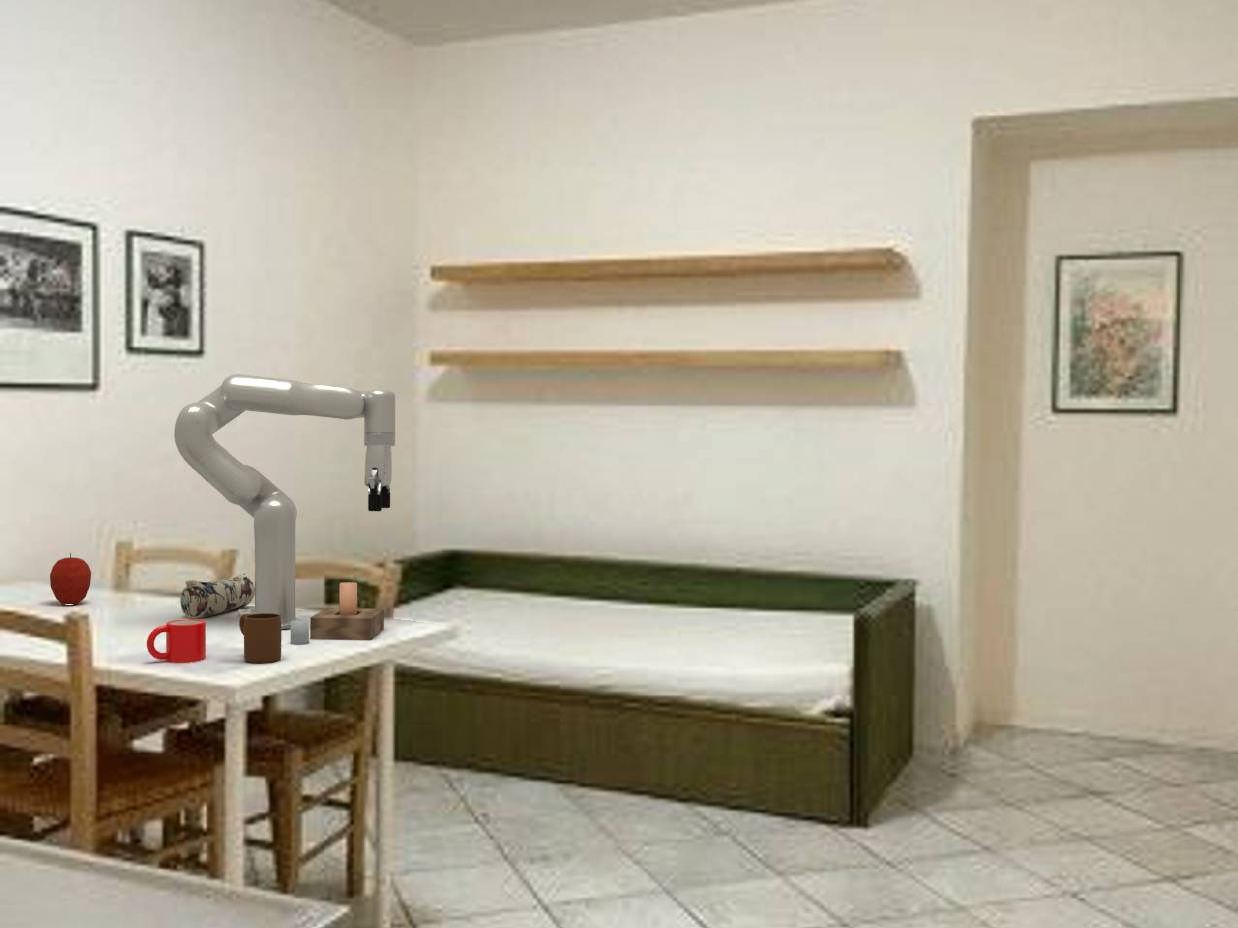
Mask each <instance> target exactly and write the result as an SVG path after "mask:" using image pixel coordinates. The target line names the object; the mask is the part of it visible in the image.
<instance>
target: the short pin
mask: <svg viewBox="0 0 1238 928" xmlns="http://www.w3.org/2000/svg"><path fill="white" fill-rule="evenodd" d="M308 644H310V620H308V619H301V620H293V621H291V628H290V645H294V646H304V645H308Z"/></svg>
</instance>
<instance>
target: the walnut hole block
mask: <svg viewBox="0 0 1238 928" xmlns="http://www.w3.org/2000/svg"><path fill="white" fill-rule="evenodd" d="M384 629H385V608H361V607H360V608H359V607H357V615H340V607H325V608H323V609H322V610H320V611H318V612H317V613H315V614H313V615H312V616H310V618H309V640H337V641H338V640H339V641H341V640H343V641H344V640H345V641H346V640H347V641H372V640H373V639H374V638H376V637H377V636H378V635H380V634H381V632H383V631H384Z"/></svg>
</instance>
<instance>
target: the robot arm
mask: <svg viewBox="0 0 1238 928" xmlns="http://www.w3.org/2000/svg"><path fill="white" fill-rule="evenodd" d="M246 411H249V412H257V413H258V412H259V413H266V414H267V413H269V414H275V415H286V416H312V417H313V416H314V417H321V418H322V417H323V418H330V419H331V418H332V419H339V420H340V419H341V420H354V419H361V418H363V420H364V421H363V428H364V430H363V443H364V444H363V447H366V449H365V450H366V451H365V461H364V463H365V464H364V486H366V487H368V491H367V492H368V493H367V510H368V512H382V510H383V509H390V508H391V485H390V484H391V483H392V477H393V474H392V471H393V468H392V467H393V466H392V465H393V464H392V459H393V458H392V447H395V446H396V395H395V392H394V391H393V390H388V389H369V390H357V389H353V388H349V387H340V386H332V385H321V384H315V383H307V382H303V381H299V380H293V379H287V378H286V379H285V378H274V377H269V376H268V377H267V376H259V375H249V374H241V373H239V374H237V373H236V374H231V375H229V376H227V377H225V378H224V380H223V381H222V383H221V385H220V386H218V387H217V388H215V389H214V390H213V391H211V392H210V393H209V394H207V395H206V396H204V397H203V398H202V399H200V400H199V401H197V402H192V403H190V404H187V405H185V406H184V407H183V408H182V409H181V410H180V412H179V414H178V415H177V418H176V420H175V424H174V430H173V431H174V432H173V433H174V434H173V435H174V443H175V446H176V448H177V450H178V453H179V455H180V456H181V457H182V458H183V459H182V460H184V461H185V462H186V464H187V465H189V466H190V468H192V469H193V470H194V471H195V472H196V473H197V474H199V476H201V478H202V479H204V480H205V481H206V482H207V483H208V484H209V485H210V486H212V487H213V488H214V490H216V491H217V492H218V493H220V495H222V496H223V498H224V499H226V500H227V501H228V502H229V503H231V504H233V505H236V506H239V507H240V508H241V509H243V511H245V512H246V513H247V514H248V515H250V516H251V517H252V518H253V534H254V535H253V537H254V586H255V594H254V606H253V607H251V608H250V609H249V608H238V610H237V616H238V617H239V618H240V617H241V616H242V615H244V614H258V613H273V614H279V615H281V630H289V629H290V630H291V621H293V620H302V619H301V618H298V617H296V525H297V524H296V523H297V522H296V521H297V520H296V519H297V515H298V514H297V513H298V511H297V508H296V505H295V502H294V500H292V499H291V498H290V497H289V496H288V495H287V494H286V493H284V491H282V490H281V489H280V488H279V487H278V486H277V485H276V484H274V483H273V482H272V481H271V480H269V479H268V478H267V477H266V476H265V475H263V473H261V472H260V471H259V470H257V469H256V468H255V467H252V466H250V465H248V464H247V465H246V464H243V463H242V462H241V461H239V460H238V459H237V458H236V457H235V456H233V455H232V454H231V453H230V452H229V451H228V450H227V449H226V448H225V447H223V446H222V445H221V444H220V443H219V442H217V441H216V439H215V437H214V435H213V434H215V433H217V432H218V431H219V430H220V429H222V428H224V427H225V426H226V425H228V424H229V423H231V422H232V421H233V420H235V419H237V417H239V416H240V415H242V414H243V413H244V412H246Z"/></svg>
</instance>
